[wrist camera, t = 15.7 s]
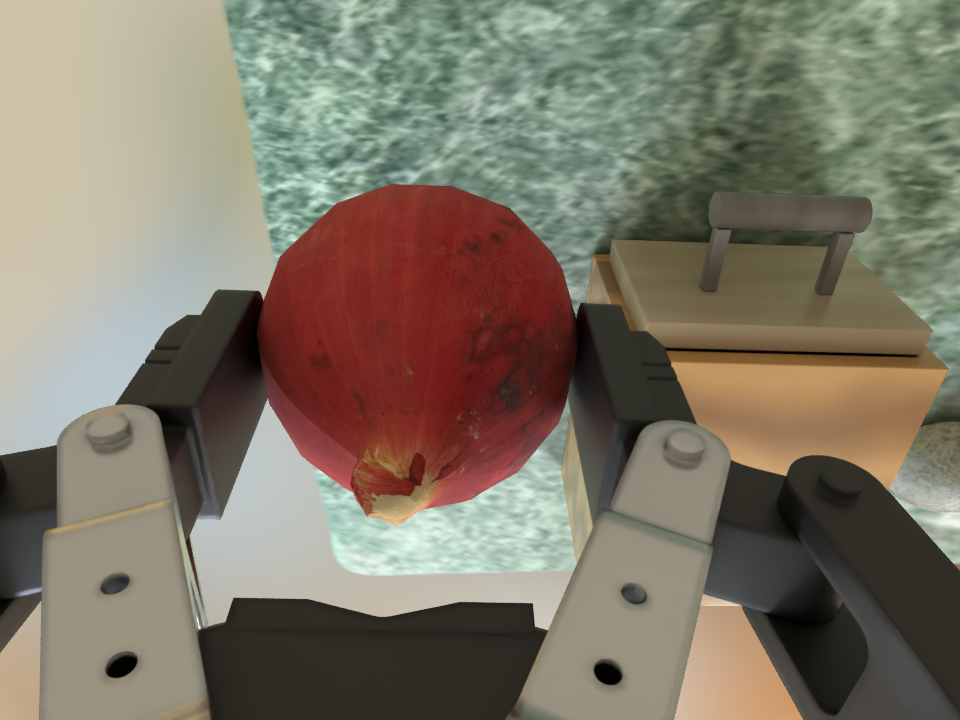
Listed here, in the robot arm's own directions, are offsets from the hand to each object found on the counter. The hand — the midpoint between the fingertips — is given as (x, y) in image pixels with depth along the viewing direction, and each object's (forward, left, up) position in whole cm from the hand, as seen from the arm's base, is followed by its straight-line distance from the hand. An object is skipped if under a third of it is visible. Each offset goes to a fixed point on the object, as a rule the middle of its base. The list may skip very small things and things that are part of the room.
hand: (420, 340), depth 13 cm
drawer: (+11, +14, -20) cm, 27 cm away
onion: (0, 0, -4) cm, 4 cm away
